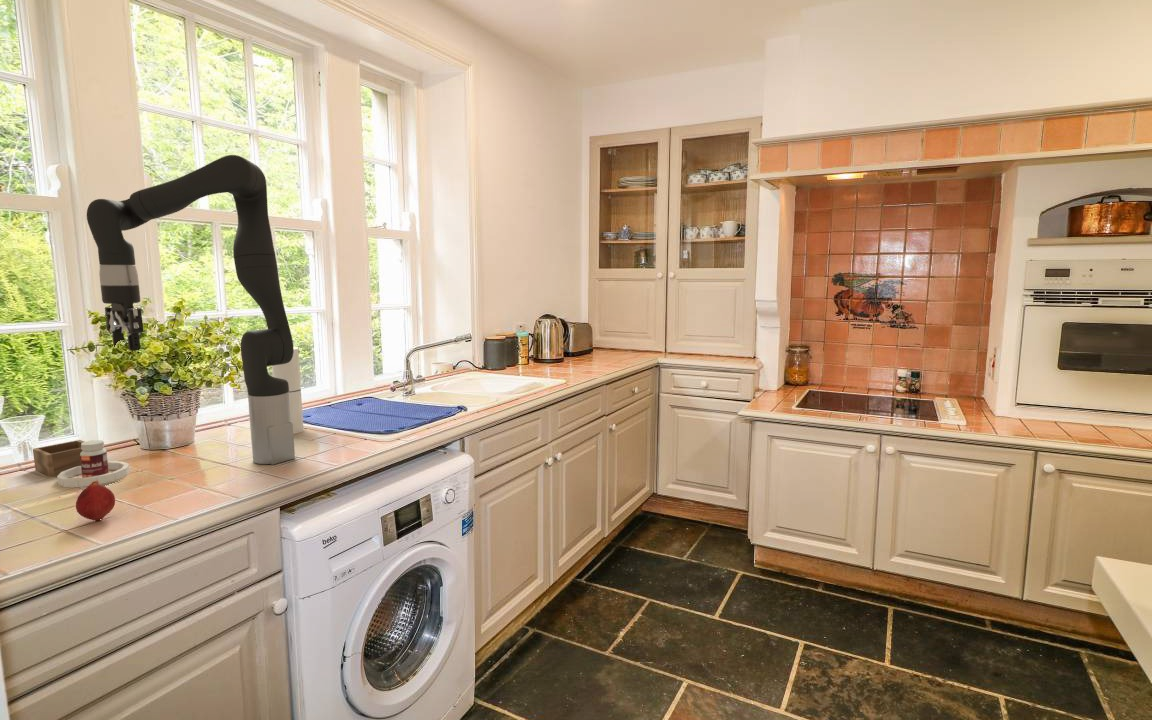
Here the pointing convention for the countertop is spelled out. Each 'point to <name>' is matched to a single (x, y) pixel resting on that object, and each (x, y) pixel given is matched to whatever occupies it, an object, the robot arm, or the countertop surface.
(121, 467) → the white ring
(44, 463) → the walnut crate
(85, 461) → the pill bottle
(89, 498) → the onion
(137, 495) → the countertop surface
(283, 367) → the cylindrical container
